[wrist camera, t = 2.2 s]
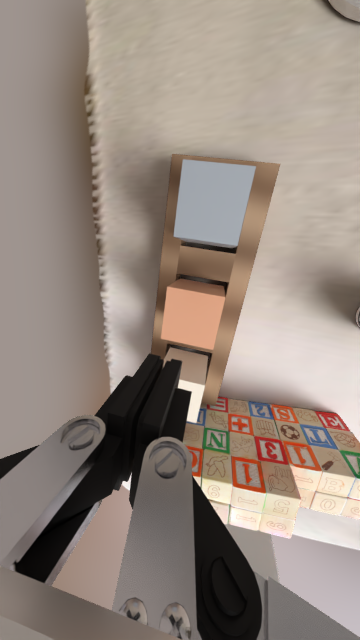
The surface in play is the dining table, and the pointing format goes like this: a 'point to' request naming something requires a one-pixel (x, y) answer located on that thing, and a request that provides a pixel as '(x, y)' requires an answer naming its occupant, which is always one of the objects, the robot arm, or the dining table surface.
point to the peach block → (193, 313)
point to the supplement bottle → (358, 317)
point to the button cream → (191, 377)
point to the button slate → (212, 202)
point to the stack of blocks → (273, 463)
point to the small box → (256, 550)
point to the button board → (213, 265)
